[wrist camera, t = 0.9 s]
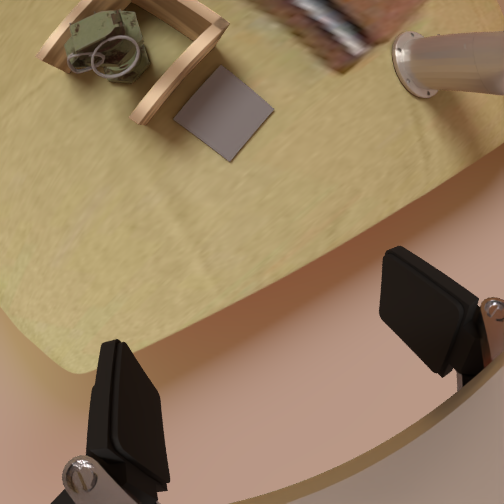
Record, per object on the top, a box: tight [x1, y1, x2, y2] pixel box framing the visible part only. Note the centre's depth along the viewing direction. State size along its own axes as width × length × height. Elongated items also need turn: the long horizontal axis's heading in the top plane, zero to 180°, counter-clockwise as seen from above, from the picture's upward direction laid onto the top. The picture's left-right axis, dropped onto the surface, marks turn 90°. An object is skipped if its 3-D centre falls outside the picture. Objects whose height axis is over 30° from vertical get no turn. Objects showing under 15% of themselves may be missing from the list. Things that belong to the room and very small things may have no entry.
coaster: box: [173, 65, 274, 162], centre depth 33 cm, size 9×9×1 cm
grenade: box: [64, 9, 150, 83], centre depth 21 cm, size 7×7×15 cm
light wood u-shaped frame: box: [35, 0, 230, 125], centre depth 23 cm, size 13×14×9 cm
